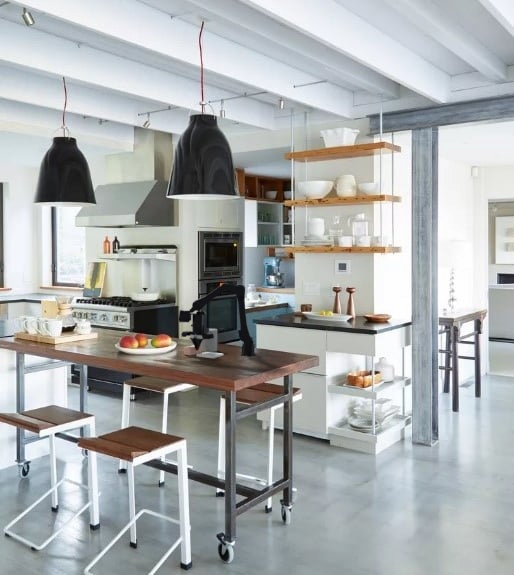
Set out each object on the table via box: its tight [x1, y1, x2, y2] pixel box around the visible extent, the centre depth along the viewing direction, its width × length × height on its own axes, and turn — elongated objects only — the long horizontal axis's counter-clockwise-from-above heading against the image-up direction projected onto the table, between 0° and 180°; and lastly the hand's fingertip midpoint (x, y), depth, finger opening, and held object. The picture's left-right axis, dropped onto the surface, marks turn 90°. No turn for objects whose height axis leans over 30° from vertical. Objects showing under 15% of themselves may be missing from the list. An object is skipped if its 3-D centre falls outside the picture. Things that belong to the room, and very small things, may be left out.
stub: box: [183, 344, 202, 356], centre depth 359 cm, size 4×10×4 cm, turn 149°
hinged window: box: [196, 351, 224, 359], centre depth 353 cm, size 11×10×1 cm
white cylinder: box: [200, 327, 218, 353], centre depth 371 cm, size 10×10×12 cm
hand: (197, 350), depth 357 cm, fingers closed
